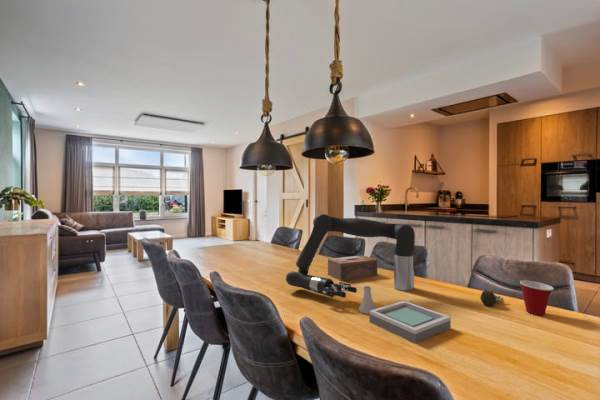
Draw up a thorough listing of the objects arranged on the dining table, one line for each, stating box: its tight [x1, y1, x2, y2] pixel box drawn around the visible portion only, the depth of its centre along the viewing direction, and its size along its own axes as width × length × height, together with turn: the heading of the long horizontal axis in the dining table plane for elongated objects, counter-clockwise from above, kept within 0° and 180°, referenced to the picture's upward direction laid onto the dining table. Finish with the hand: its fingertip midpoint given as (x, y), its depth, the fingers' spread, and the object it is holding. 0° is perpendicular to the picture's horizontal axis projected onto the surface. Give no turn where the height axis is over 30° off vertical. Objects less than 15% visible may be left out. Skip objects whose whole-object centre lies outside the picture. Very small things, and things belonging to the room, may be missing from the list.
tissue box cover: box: [327, 255, 378, 282], centre depth 181 cm, size 26×14×10 cm, turn 114°
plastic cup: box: [519, 279, 554, 317], centre depth 120 cm, size 11×11×12 cm
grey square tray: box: [369, 300, 452, 344], centre depth 110 cm, size 20×20×4 cm
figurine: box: [480, 289, 504, 307], centre depth 133 cm, size 8×6×15 cm
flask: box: [358, 285, 377, 315], centre depth 123 cm, size 7×7×10 cm
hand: (351, 292), depth 129 cm, fingers open, 8 cm apart
